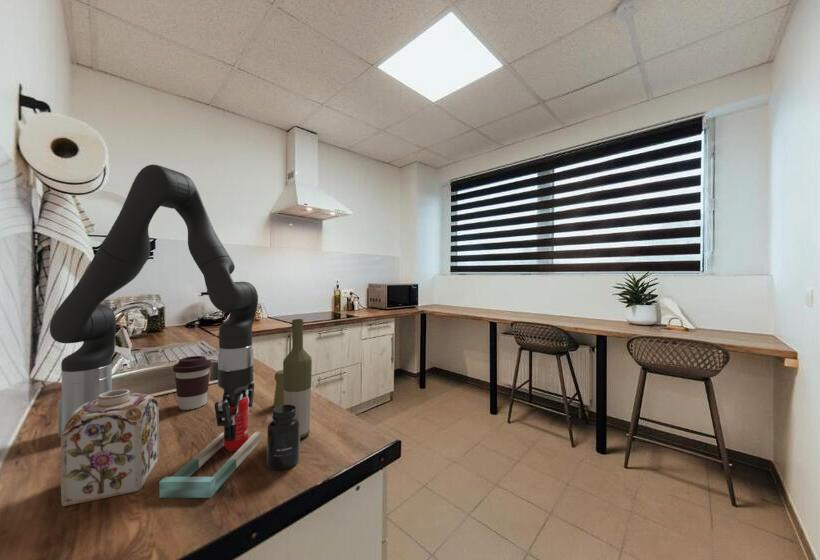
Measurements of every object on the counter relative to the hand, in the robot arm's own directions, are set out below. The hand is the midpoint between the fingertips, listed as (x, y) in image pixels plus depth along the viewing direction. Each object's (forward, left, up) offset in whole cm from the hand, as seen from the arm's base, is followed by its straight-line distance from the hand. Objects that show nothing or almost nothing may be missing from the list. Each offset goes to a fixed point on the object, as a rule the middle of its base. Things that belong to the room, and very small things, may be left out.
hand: (236, 433), depth 78 cm
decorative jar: (-17, -13, -3) cm, 22 cm away
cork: (+2, +24, -3) cm, 25 cm away
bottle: (+13, +5, -3) cm, 14 cm away
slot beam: (0, -7, -3) cm, 8 cm away
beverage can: (0, 0, -3) cm, 3 cm away
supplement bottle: (+14, -7, -3) cm, 16 cm away
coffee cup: (-26, +23, -3) cm, 35 cm away
